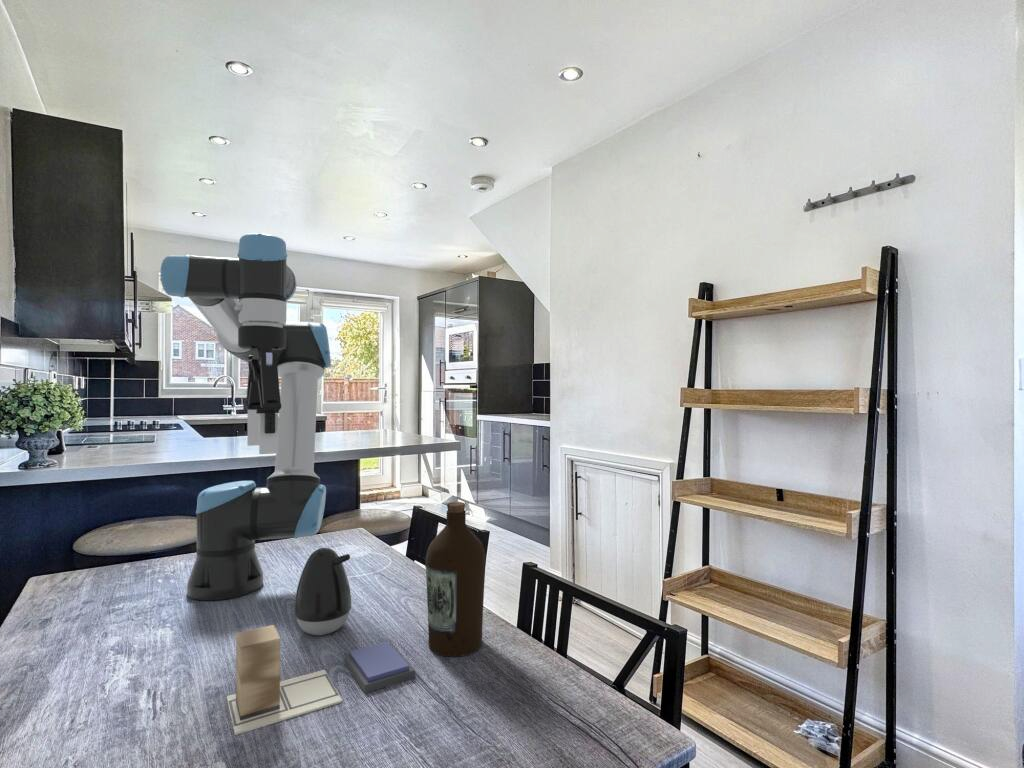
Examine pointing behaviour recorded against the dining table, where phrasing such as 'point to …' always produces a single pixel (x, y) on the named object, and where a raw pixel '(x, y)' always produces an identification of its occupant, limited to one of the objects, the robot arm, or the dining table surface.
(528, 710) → the dining table surface
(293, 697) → the tag card
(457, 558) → the olive oil
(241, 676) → the tall wooden block
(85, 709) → the dining table surface
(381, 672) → the ink pad
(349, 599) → the pump dispenser
